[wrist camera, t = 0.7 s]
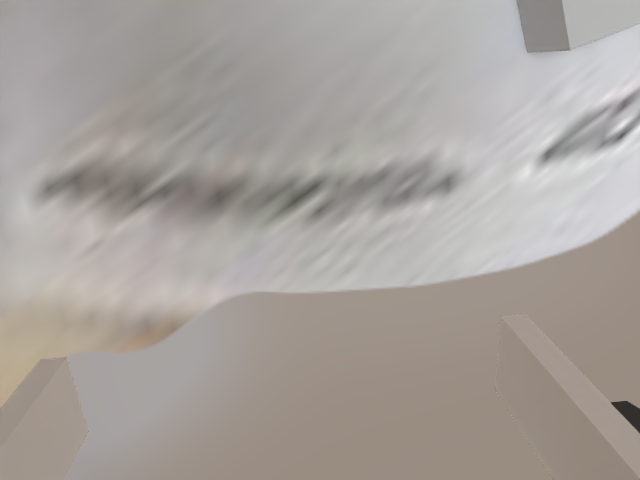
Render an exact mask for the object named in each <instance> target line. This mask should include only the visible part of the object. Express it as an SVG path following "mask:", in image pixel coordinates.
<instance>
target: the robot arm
mask: <svg viewBox="0 0 640 480" xmlns="http://www.w3.org/2000/svg"><path fill="white" fill-rule="evenodd" d="M495 387H496V388H495V390H496V392H497V394H498V395H499V397H500V398H501V400H502V401H503V403H504V404H505V406H506V407H507V409H508V411H509V412H510V414H511V415H512V417H513V418H514V420H515V421H516V423H517V424H518V426H519V427H520V429H521V431H522V432H523V434H524V435H525V437H526V438H527V440H528V441H529V443H530V444H531V446H532V448H533V449H534V451H535V452H536V454H537V456H538V457H539V459H540V460H541V462H542V463H543V465H544V466H545V468H546V469H547V471H548V472H549V474H550V476H551V477H552V479H553V480H640V409H639V408H638V407H636V406H634V405H632V404H631V403H629V402H627V401H621V402H611V403H610V402H609V401H608V400H607V399H606V398H605V397H604V396H603V395H602V394H601V393H600V392H599V391H598V390H597V388H596V387H595V386H594V385H593V384H592V383H591V382H590V381H589V380H588V379H587V378H586V377H585V376H584V375H583V374H582V373H581V372H580V371H579V370H578V369H577V368H576V366H575V365H574V364H572V362H571V361H570V360H569V359H568V358H567V357H566V356H565V355H564V354H563V353H562V352H561V351H560V350H559V349H558V348H557V347H556V346H555V345H554V344H553V343H552V341H551V340H550V339H549V338H548V337H547V336H546V335H545V334H544V333H543V332H542V331H541V330H540V329H539V328H538V327H537V326H536V325H535V324H534V323H533V322H532V321H531V320H530V318H528V316H527V315H526V314H519V315H508V316H501V319H500V333H499V346H498V360H497V374H496V386H495ZM87 433H88V427H87V425H86V421H85V418H84V414H83V410H82V407H81V403H80V400H79V397H78V393H77V390H76V386H75V383H74V379H73V376H72V373H71V369H70V366H69V362H68V359H67V357H63V358H52V359H42V360H40V361H39V362H38V363H37V365H36V366H35V367H34V368H33V370H32V371H31V372H30V373H29V374H28V376H27V377H26V378H25V379H24V381H23V382H22V383H21V384H20V386H19V387H18V388H17V389H16V390H15V392H14V393H13V394H12V395H11V397H10V398H9V399H8V400H7V401H6V403H5V404H4V405H3V406H2V408H1V409H0V480H63V479H64V477H65V475H66V473H67V471H68V469H69V468H70V466H71V464H72V462H73V460H74V458H75V456H76V454H77V452H78V450H79V448H80V446H81V444H82V443H83V441H84V439H85V437H86V435H87Z"/></svg>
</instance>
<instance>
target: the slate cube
mask: <svg viewBox="0 0 640 480" xmlns="http://www.w3.org/2000/svg"><path fill="white" fill-rule="evenodd" d="M517 4H518V9H519V14H520V19H521V24H522V30H523V35H524V40H525V45H526V50H527V52H547V51H566V50H572V49H575V48H578V47H580V46H583V45H585V44H588V43H591V42H593V41H596V40H598V39H601V38H604V37H606V36H609V35H612V34H614V33H617V32H619V31H622V30H625V29H627V28H630V27H632V26H635V25H638V24H640V0H517Z"/></svg>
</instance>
